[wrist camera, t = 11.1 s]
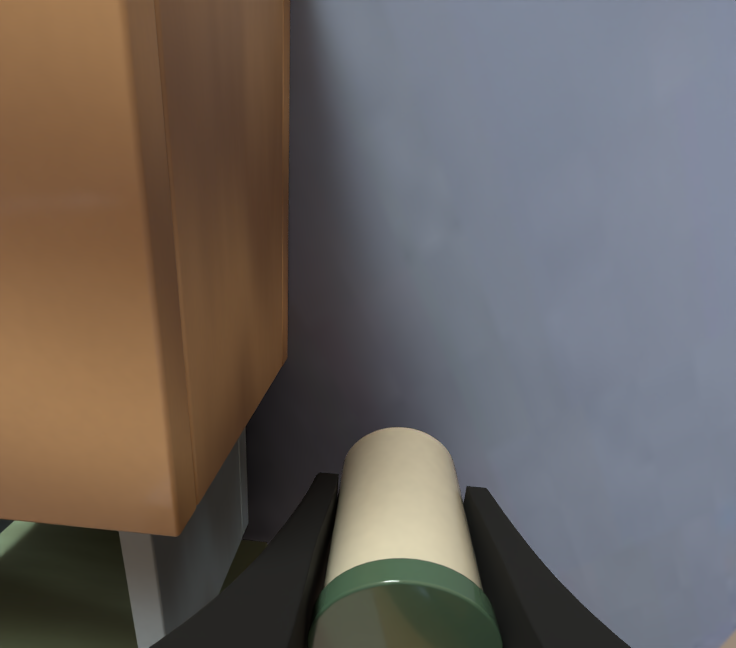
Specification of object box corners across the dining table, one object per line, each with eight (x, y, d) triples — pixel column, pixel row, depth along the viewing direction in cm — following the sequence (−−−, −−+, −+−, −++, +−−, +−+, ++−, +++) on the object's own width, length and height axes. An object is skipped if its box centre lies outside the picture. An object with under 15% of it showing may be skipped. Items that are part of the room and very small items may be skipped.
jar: (397, 541, 15) (402, 740, 10) (313, 473, 14) (266, 648, 9) (485, 477, 14) (546, 661, 9) (398, 398, 13) (405, 548, 8)
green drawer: (269, 631, 20) (210, 847, 13) (40, 606, 20) (-125, 806, 14) (264, 279, 14) (158, 360, 8) (-55, 253, 14) (-419, 309, 8)
